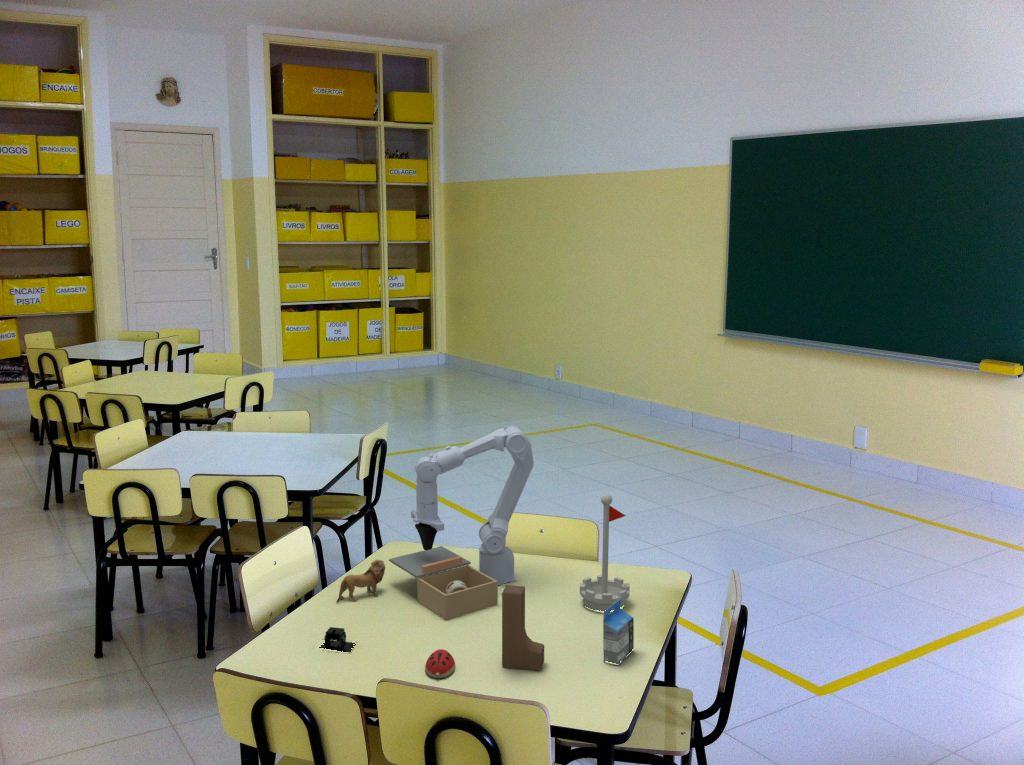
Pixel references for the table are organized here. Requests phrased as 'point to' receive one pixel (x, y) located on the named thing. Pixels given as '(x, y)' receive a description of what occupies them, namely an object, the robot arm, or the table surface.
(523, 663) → the wooden block
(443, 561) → the sliding lid
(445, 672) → the ladybug figurine
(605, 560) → the flag stand
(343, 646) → the black piece
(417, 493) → the robot arm
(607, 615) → the label tape box
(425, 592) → the box
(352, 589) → the lion figurine
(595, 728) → the table surface
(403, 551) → the table surface
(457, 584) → the roller toy
